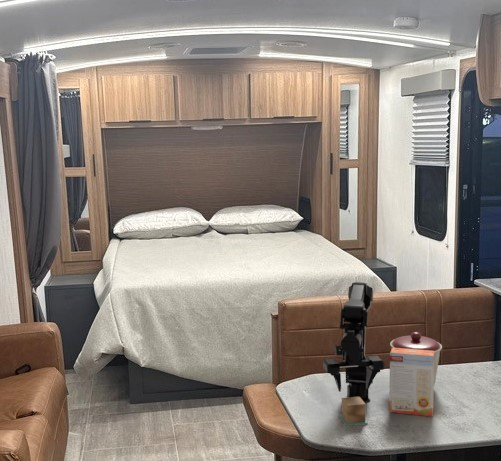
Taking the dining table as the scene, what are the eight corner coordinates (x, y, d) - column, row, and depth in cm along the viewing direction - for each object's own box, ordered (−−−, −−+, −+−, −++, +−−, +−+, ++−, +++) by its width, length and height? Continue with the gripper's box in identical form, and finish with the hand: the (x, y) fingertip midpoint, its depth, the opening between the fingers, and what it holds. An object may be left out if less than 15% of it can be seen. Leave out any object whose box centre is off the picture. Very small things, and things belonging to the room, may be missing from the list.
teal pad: (360, 414, 207) (360, 412, 207) (367, 424, 200) (367, 422, 200) (339, 416, 206) (339, 414, 206) (345, 426, 199) (345, 424, 199)
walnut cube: (359, 413, 206) (359, 396, 205) (365, 421, 200) (365, 404, 199) (341, 415, 205) (341, 398, 204) (347, 423, 199) (347, 405, 198)
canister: (392, 397, 220) (393, 339, 217) (387, 378, 238) (387, 324, 235) (445, 399, 218) (446, 340, 215) (436, 379, 235) (437, 325, 232)
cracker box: (433, 410, 209) (435, 350, 206) (432, 417, 204) (434, 356, 201) (390, 405, 214) (391, 346, 211) (388, 412, 208) (389, 352, 205)
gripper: (373, 333, 208) (372, 378, 210) (318, 337, 205) (318, 382, 208) (385, 344, 197) (384, 391, 199) (327, 348, 194) (327, 396, 197)
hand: (353, 390), depth 201 cm, fingers open, 9 cm apart
